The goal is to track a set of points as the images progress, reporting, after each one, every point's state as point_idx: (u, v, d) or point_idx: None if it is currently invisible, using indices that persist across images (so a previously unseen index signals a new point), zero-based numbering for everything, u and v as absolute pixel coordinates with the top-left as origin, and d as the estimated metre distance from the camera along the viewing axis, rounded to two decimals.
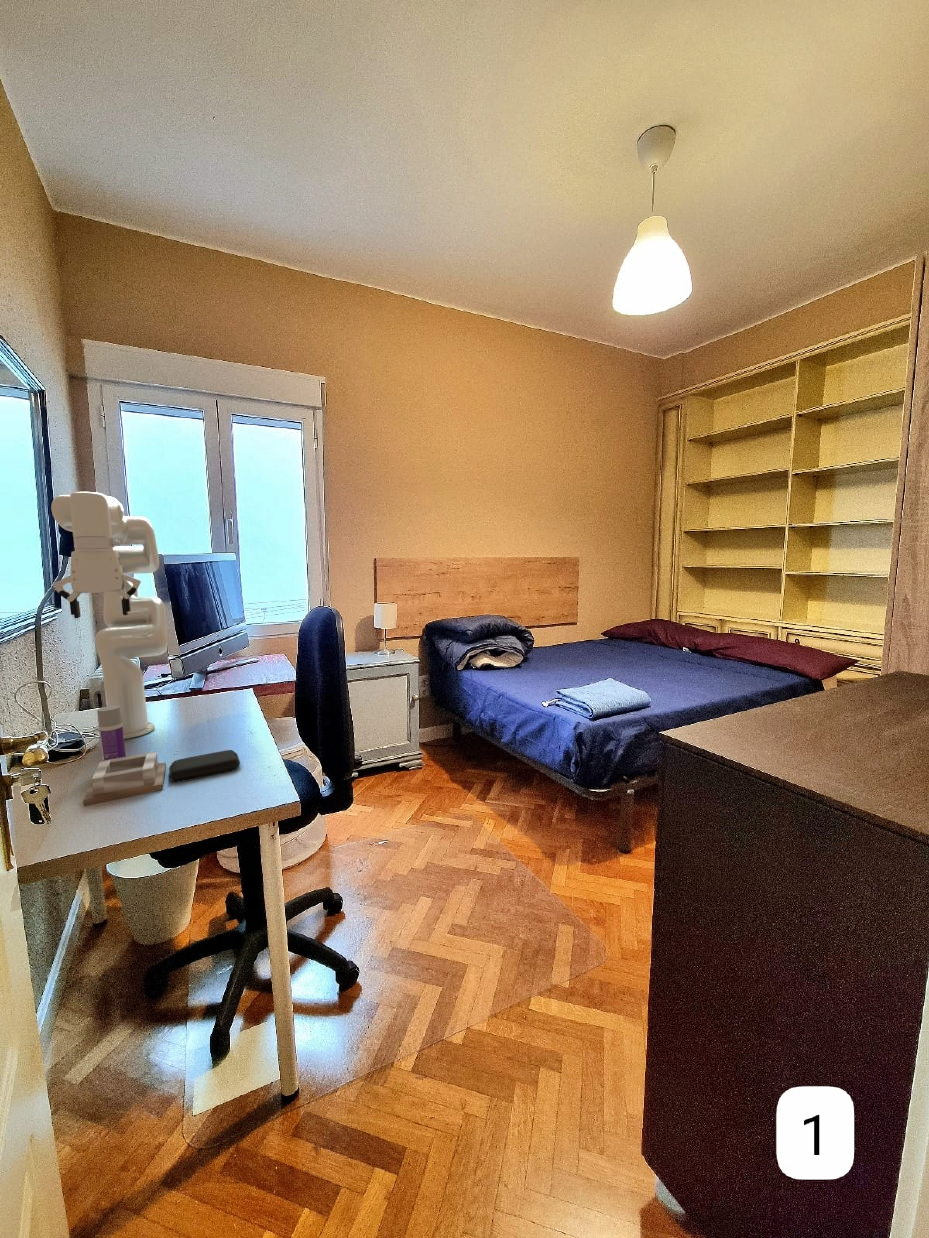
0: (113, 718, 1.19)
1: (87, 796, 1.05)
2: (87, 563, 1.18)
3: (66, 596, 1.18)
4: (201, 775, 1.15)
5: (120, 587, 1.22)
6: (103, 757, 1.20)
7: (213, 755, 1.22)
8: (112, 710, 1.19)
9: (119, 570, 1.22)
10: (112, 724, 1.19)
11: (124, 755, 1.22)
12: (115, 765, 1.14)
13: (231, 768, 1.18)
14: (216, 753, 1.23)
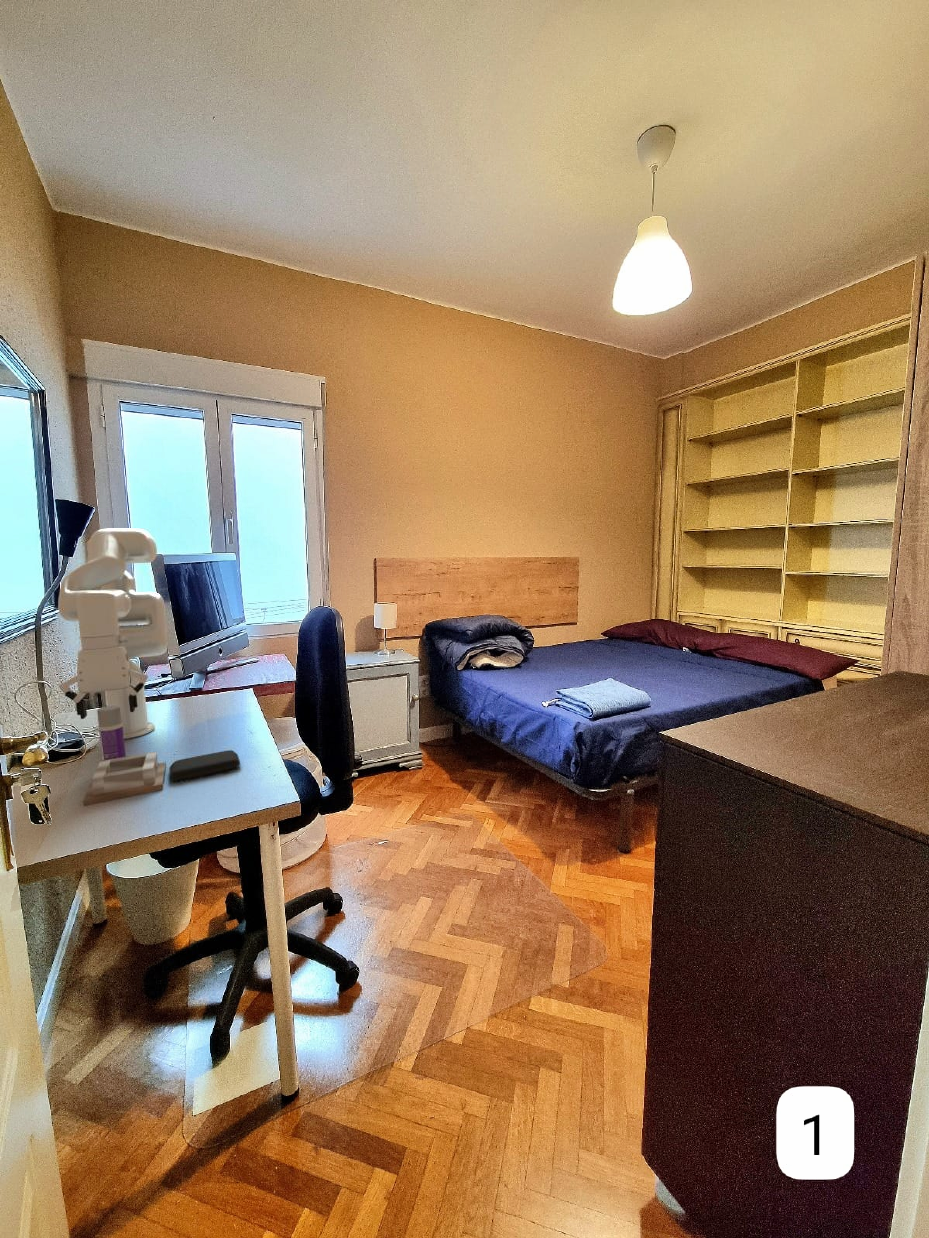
0: (113, 718, 1.19)
1: (87, 796, 1.05)
2: (94, 663, 1.16)
3: (72, 697, 1.16)
4: (201, 775, 1.15)
5: (127, 684, 1.20)
6: (103, 757, 1.20)
7: (213, 755, 1.21)
8: (112, 710, 1.19)
9: (126, 667, 1.20)
10: (112, 724, 1.19)
11: (124, 755, 1.22)
12: (115, 765, 1.14)
13: (231, 768, 1.18)
14: (216, 754, 1.22)
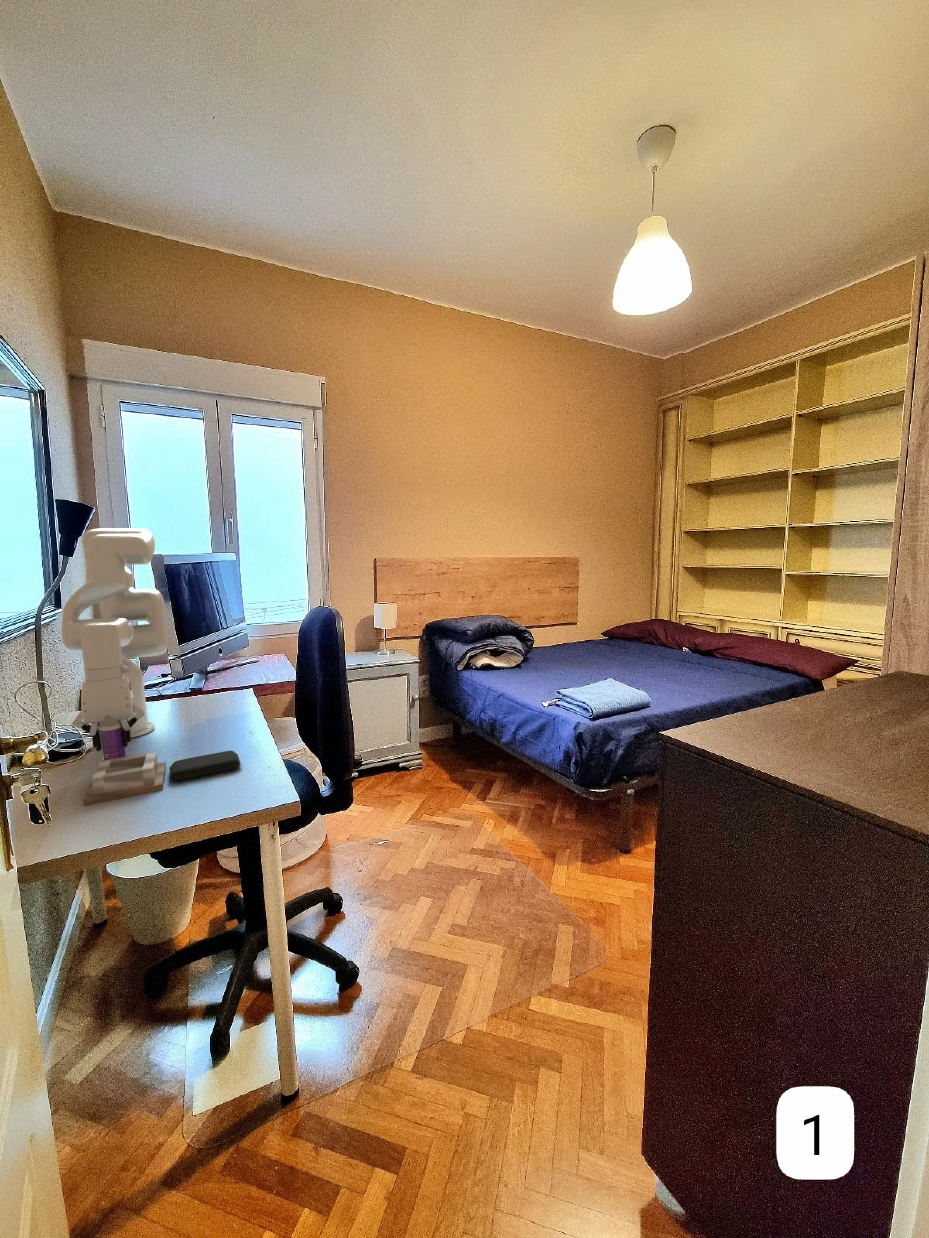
0: None
1: (87, 796, 1.05)
2: (98, 694, 1.17)
3: (88, 730, 1.18)
4: (201, 776, 1.15)
5: (131, 714, 1.21)
6: (103, 757, 1.20)
7: (213, 756, 1.21)
8: None
9: (130, 697, 1.21)
10: (112, 724, 1.19)
11: (124, 755, 1.22)
12: (115, 765, 1.14)
13: (231, 769, 1.18)
14: (216, 754, 1.22)
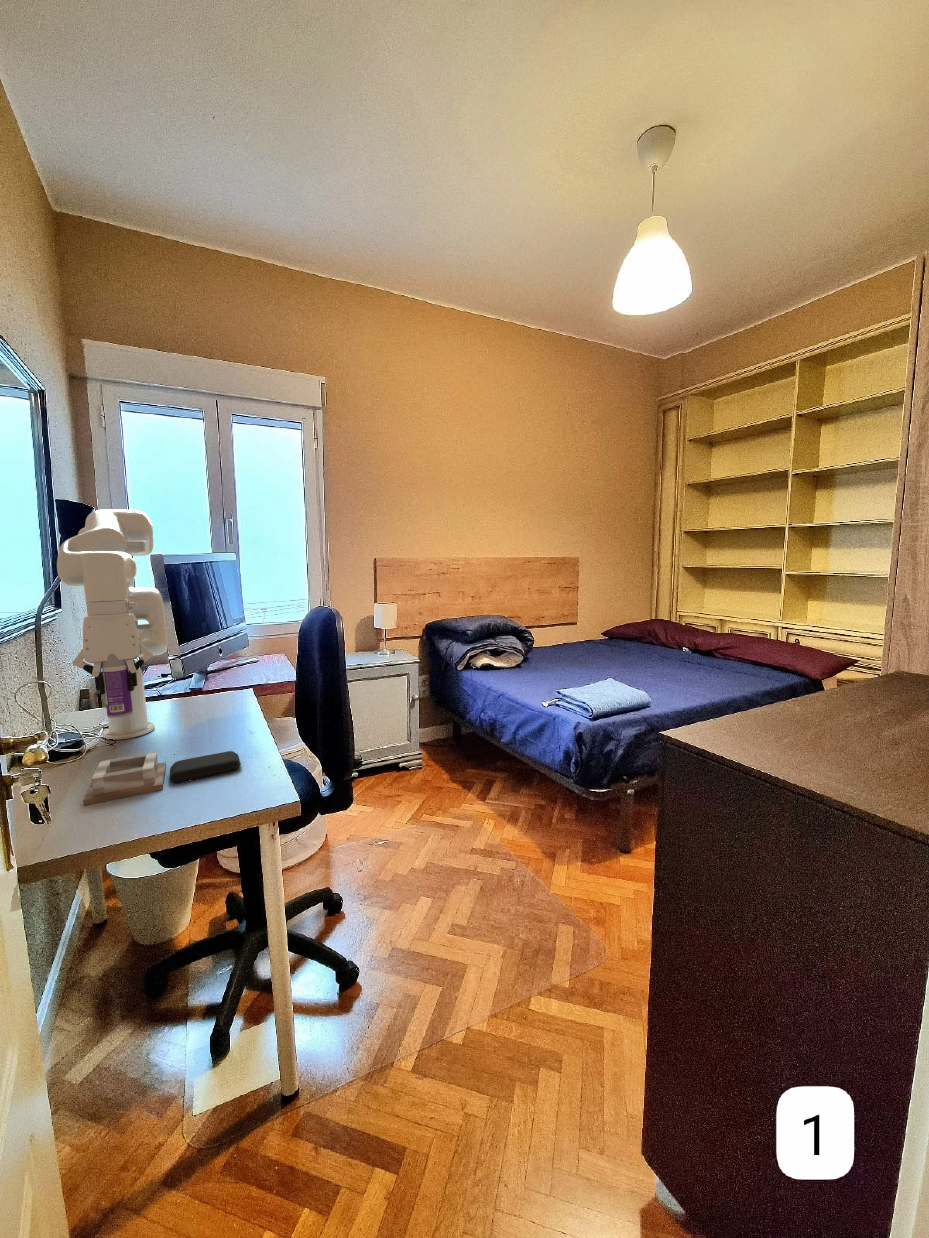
0: None
1: (87, 796, 1.05)
2: (101, 630, 1.06)
3: (91, 671, 1.07)
4: (201, 776, 1.15)
5: (137, 654, 1.10)
6: (107, 701, 1.09)
7: (214, 756, 1.21)
8: None
9: (136, 636, 1.10)
10: (117, 665, 1.08)
11: (130, 700, 1.11)
12: (115, 765, 1.14)
13: (232, 769, 1.18)
14: (217, 754, 1.22)
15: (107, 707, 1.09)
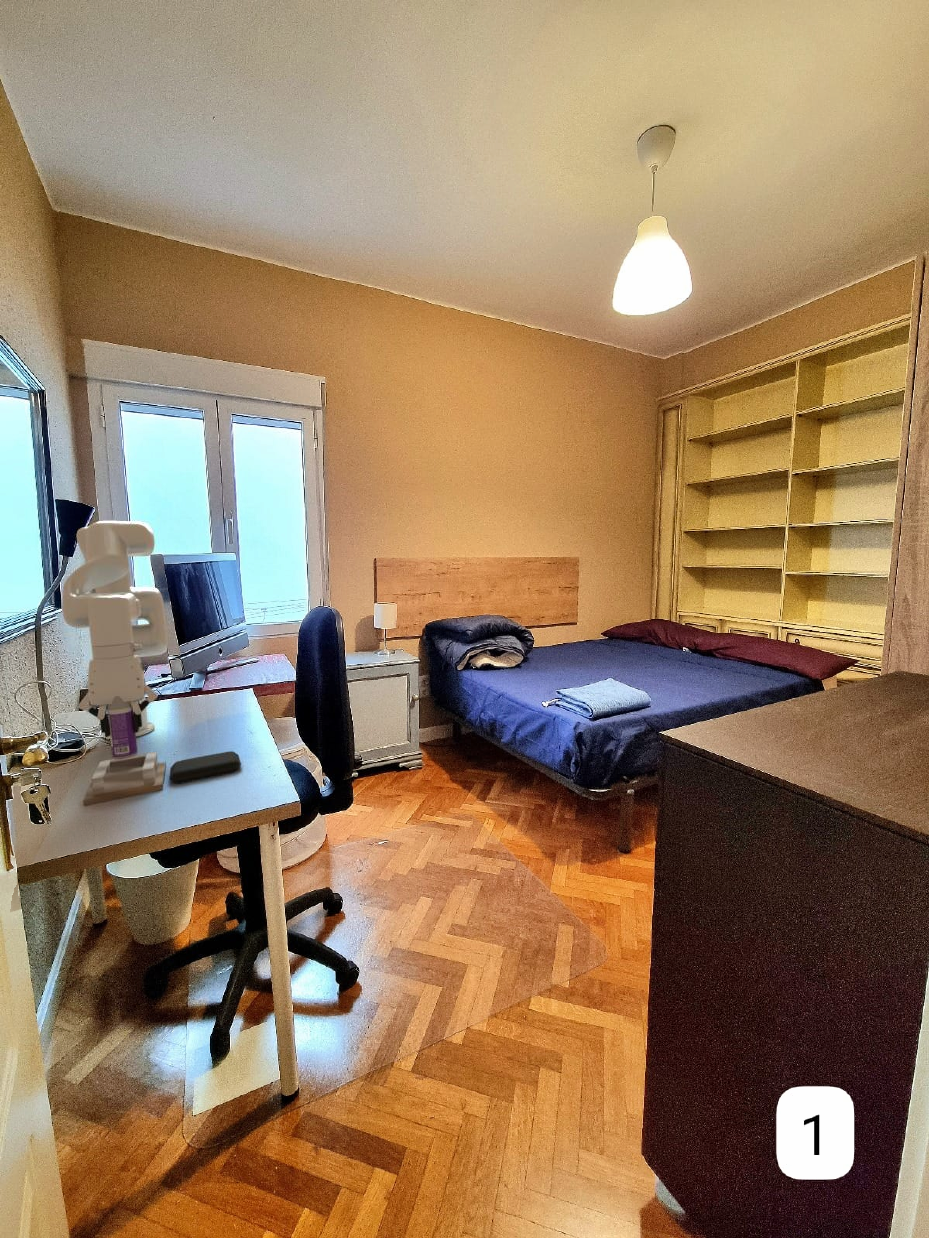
0: None
1: (87, 796, 1.05)
2: (106, 674, 1.07)
3: (96, 713, 1.08)
4: (202, 777, 1.14)
5: (142, 696, 1.11)
6: (112, 743, 1.09)
7: (214, 756, 1.21)
8: None
9: (141, 678, 1.10)
10: (122, 707, 1.09)
11: (135, 741, 1.12)
12: (115, 765, 1.14)
13: (232, 770, 1.17)
14: (217, 755, 1.22)
15: (112, 749, 1.10)
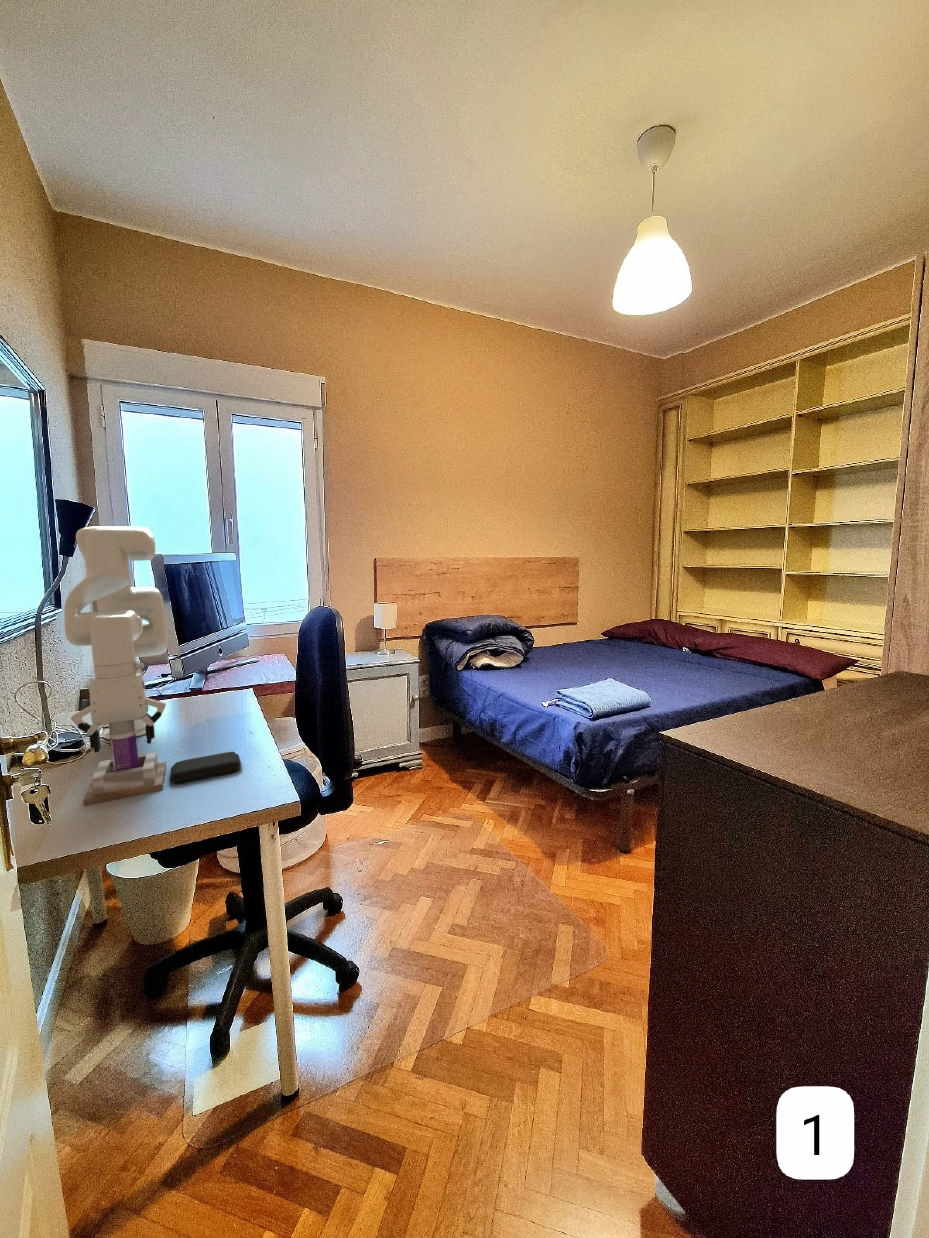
0: (125, 725, 1.10)
1: (87, 796, 1.05)
2: (108, 693, 1.07)
3: (85, 729, 1.07)
4: (202, 777, 1.14)
5: (144, 714, 1.11)
6: (115, 768, 1.10)
7: (214, 757, 1.21)
8: None
9: (143, 696, 1.11)
10: (124, 732, 1.10)
11: (137, 765, 1.13)
12: None
13: (232, 770, 1.17)
14: (217, 755, 1.22)
15: None
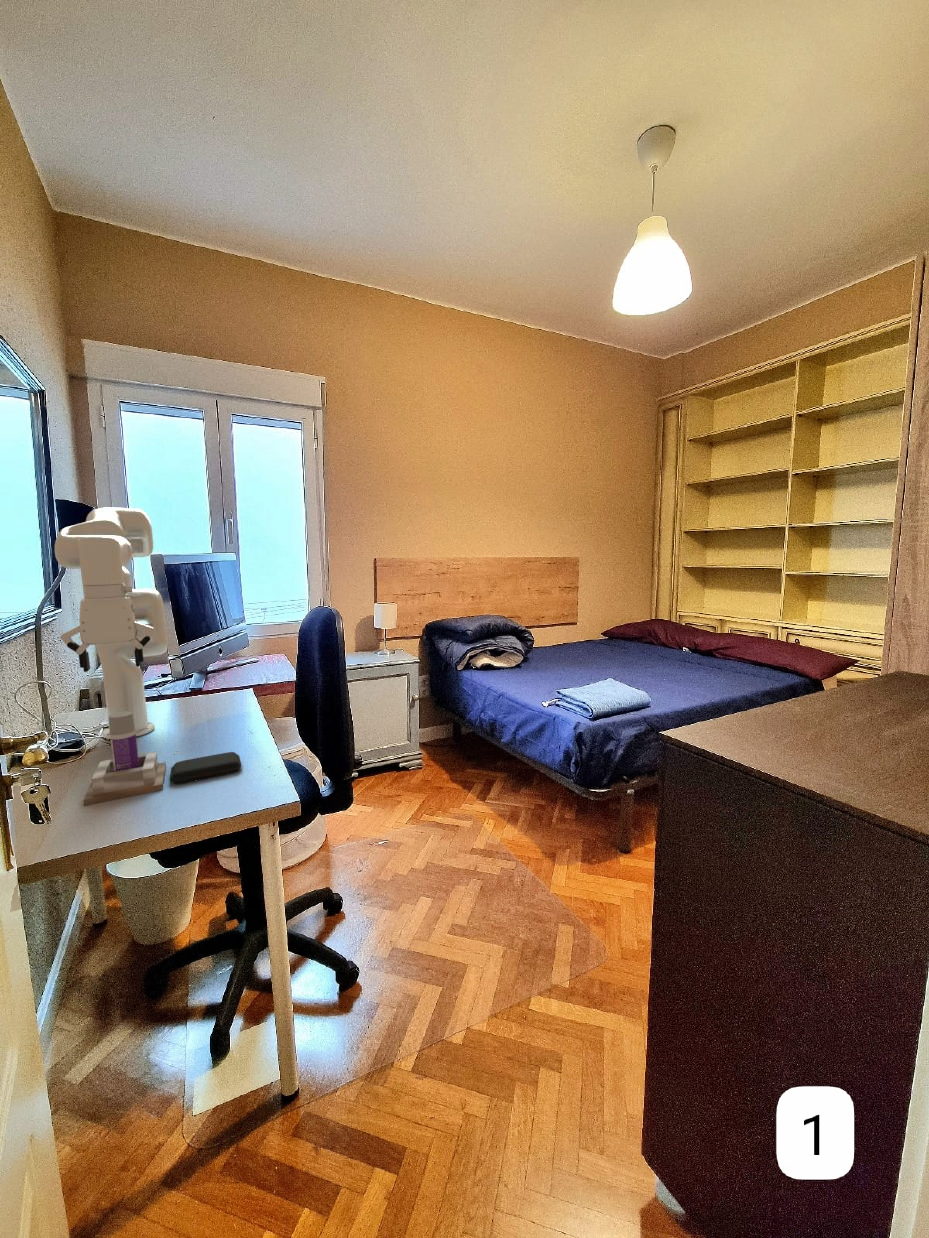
0: (126, 725, 1.10)
1: (87, 796, 1.05)
2: (97, 613, 1.09)
3: (75, 648, 1.09)
4: (202, 777, 1.14)
5: (133, 637, 1.13)
6: (115, 768, 1.10)
7: (215, 757, 1.20)
8: (125, 717, 1.10)
9: (132, 619, 1.13)
10: (125, 732, 1.10)
11: (137, 765, 1.13)
12: None
13: (232, 771, 1.17)
14: (218, 755, 1.21)
15: None
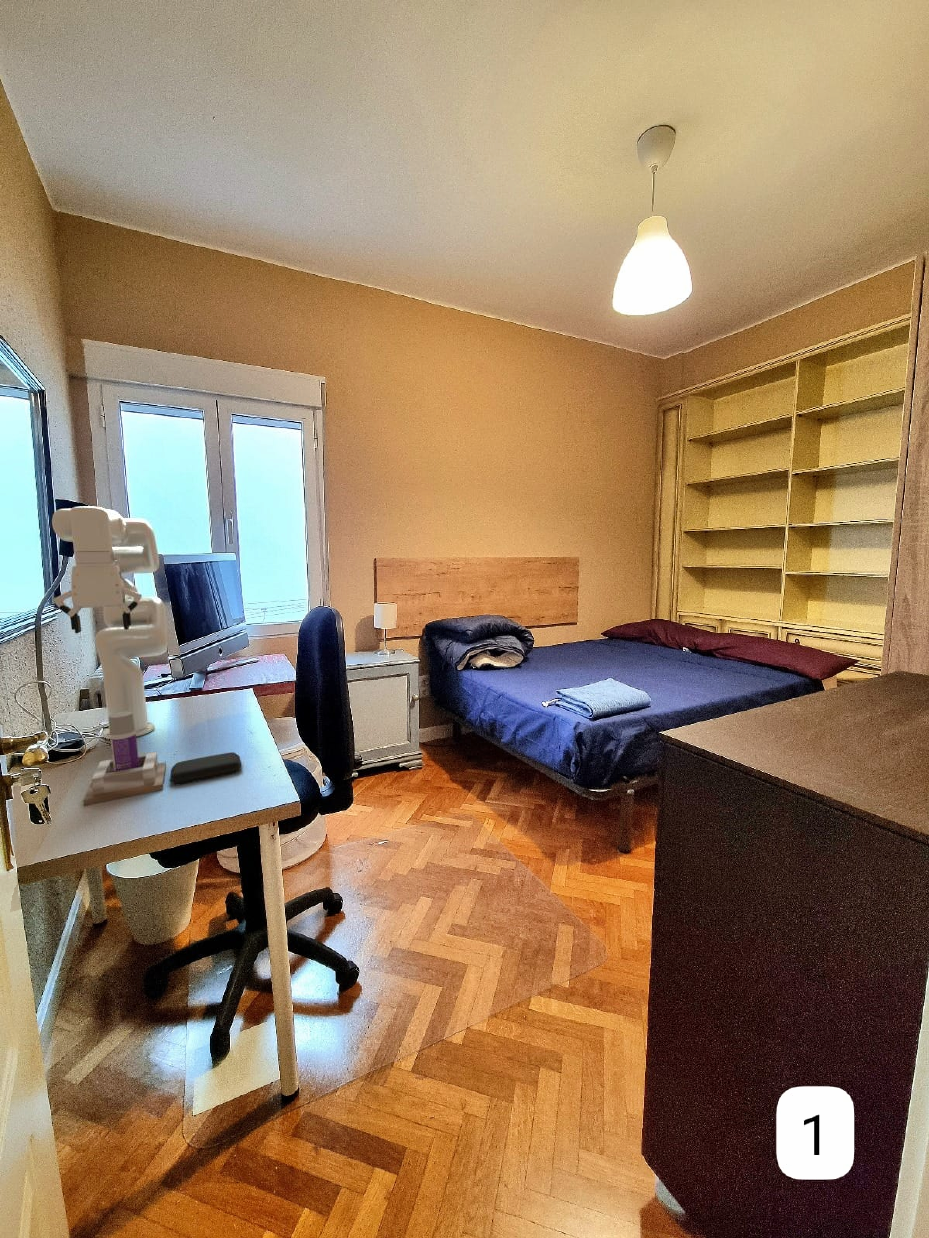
0: (125, 725, 1.10)
1: (87, 796, 1.05)
2: (88, 578, 1.17)
3: (67, 611, 1.18)
4: (202, 778, 1.14)
5: (121, 601, 1.21)
6: (115, 768, 1.10)
7: (215, 757, 1.20)
8: (125, 717, 1.10)
9: (120, 584, 1.21)
10: (125, 732, 1.10)
11: (137, 765, 1.13)
12: None
13: (232, 771, 1.17)
14: (218, 756, 1.21)
15: None
